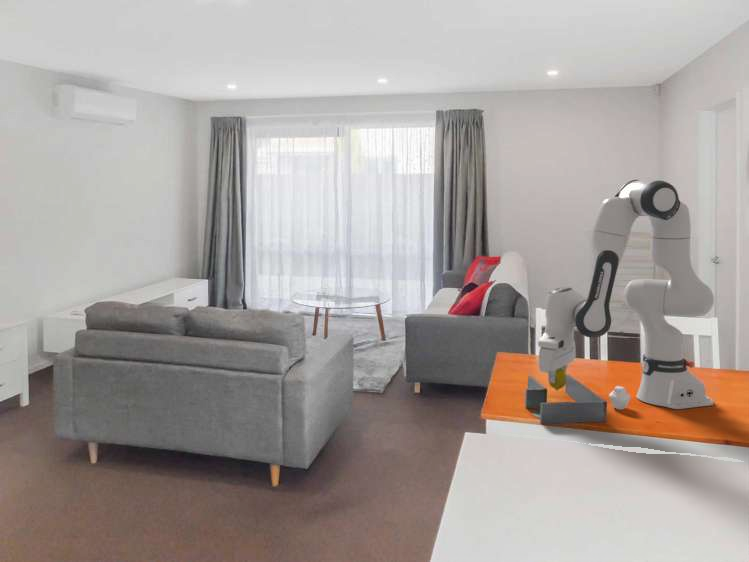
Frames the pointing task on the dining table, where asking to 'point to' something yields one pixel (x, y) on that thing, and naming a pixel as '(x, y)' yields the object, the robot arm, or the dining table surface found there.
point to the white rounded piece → (619, 397)
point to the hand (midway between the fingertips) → (557, 380)
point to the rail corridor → (565, 404)
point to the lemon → (559, 379)
